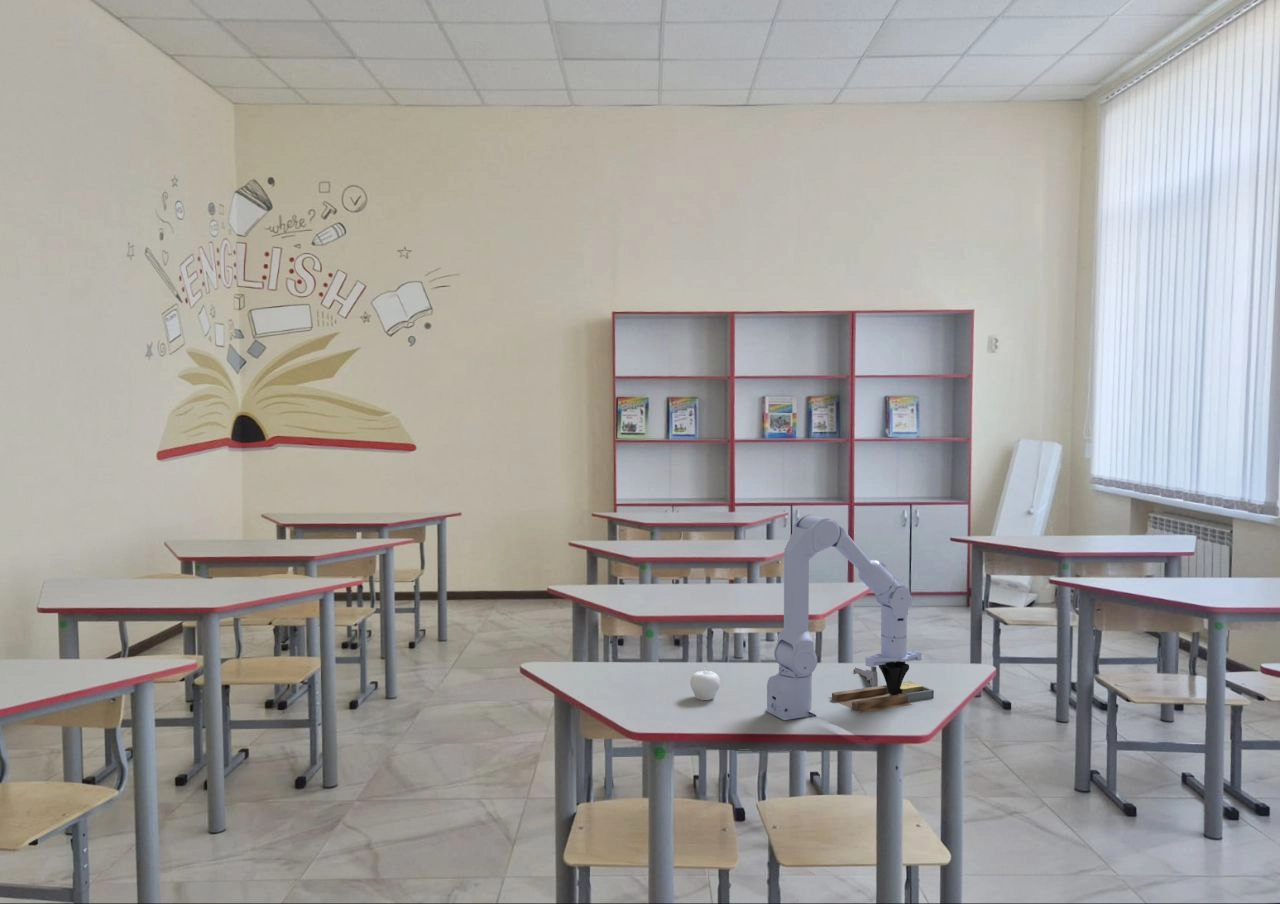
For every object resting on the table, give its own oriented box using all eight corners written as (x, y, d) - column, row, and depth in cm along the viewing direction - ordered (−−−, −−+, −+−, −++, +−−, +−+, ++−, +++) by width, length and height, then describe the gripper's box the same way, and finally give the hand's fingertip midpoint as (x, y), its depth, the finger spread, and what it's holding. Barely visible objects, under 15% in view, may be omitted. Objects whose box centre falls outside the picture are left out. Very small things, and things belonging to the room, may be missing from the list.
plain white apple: (690, 702, 215) (690, 668, 215) (689, 693, 222) (689, 660, 222) (721, 703, 215) (721, 668, 215) (719, 694, 222) (719, 660, 222)
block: (902, 702, 214) (902, 689, 214) (890, 697, 218) (890, 684, 217) (922, 698, 216) (923, 686, 216) (911, 694, 220) (911, 681, 220)
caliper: (878, 694, 223) (878, 668, 222) (873, 694, 223) (873, 668, 222) (857, 671, 243) (857, 647, 243) (853, 671, 243) (853, 647, 243)
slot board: (860, 717, 204) (860, 705, 204) (828, 702, 215) (828, 691, 215) (911, 709, 210) (911, 697, 210) (877, 695, 221) (877, 684, 221)
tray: (905, 707, 212) (905, 694, 211) (883, 697, 219) (883, 685, 219) (933, 702, 215) (933, 690, 215) (910, 693, 222) (910, 681, 222)
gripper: (879, 642, 208) (879, 702, 208) (930, 636, 214) (930, 694, 214) (859, 635, 214) (859, 694, 215) (910, 629, 220) (909, 687, 221)
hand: (893, 694), depth 215 cm, fingers closed
